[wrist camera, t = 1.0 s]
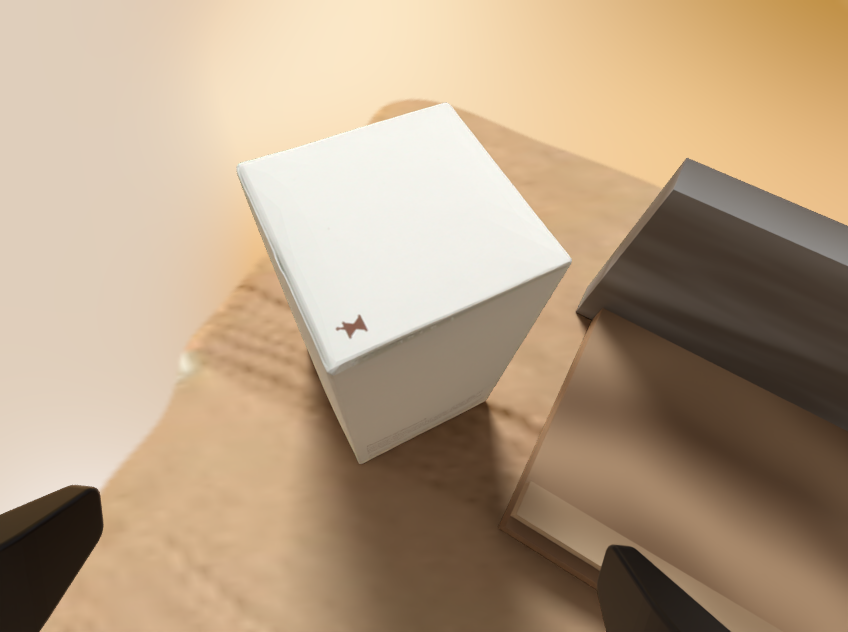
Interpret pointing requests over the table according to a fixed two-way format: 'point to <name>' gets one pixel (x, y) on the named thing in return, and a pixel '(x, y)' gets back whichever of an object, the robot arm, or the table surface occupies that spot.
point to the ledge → (708, 410)
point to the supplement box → (403, 268)
